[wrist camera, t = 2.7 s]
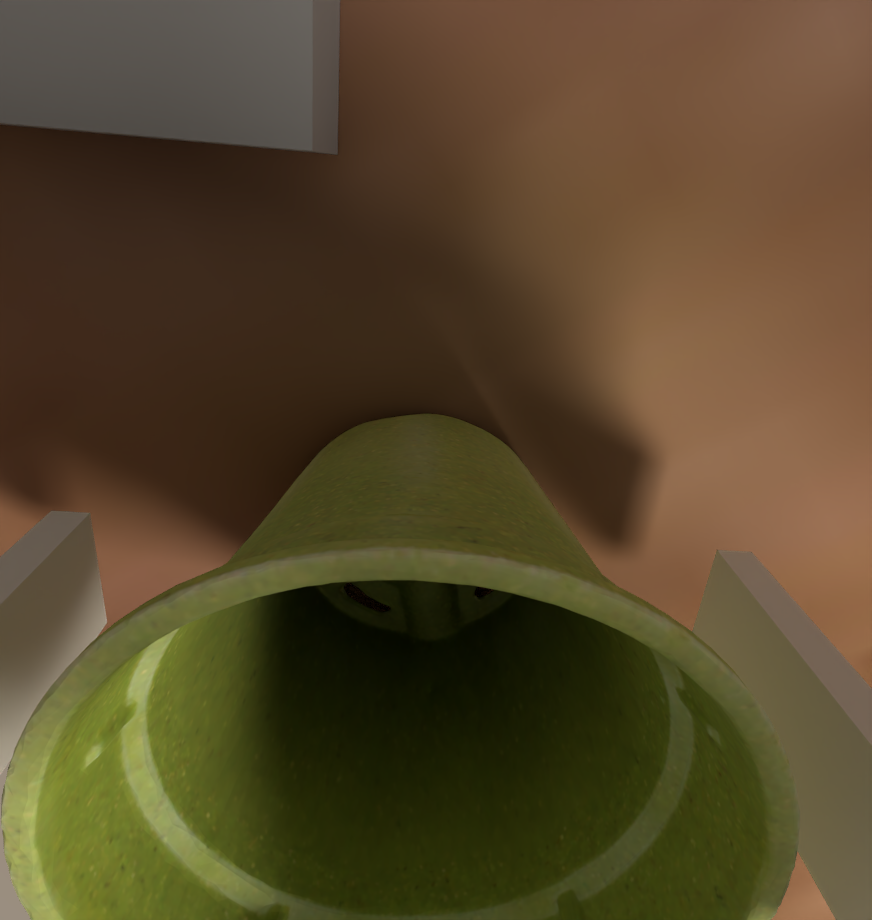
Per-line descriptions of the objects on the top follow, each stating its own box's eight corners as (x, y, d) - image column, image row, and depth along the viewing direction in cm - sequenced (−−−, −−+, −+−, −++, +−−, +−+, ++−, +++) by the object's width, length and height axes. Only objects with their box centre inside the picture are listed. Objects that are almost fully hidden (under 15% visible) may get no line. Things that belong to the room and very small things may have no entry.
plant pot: (155, 573, 16) (-107, 966, 8) (345, 244, 13) (218, 364, 5) (462, 723, 18) (491, 1145, 10) (689, 474, 15) (980, 809, 7)
